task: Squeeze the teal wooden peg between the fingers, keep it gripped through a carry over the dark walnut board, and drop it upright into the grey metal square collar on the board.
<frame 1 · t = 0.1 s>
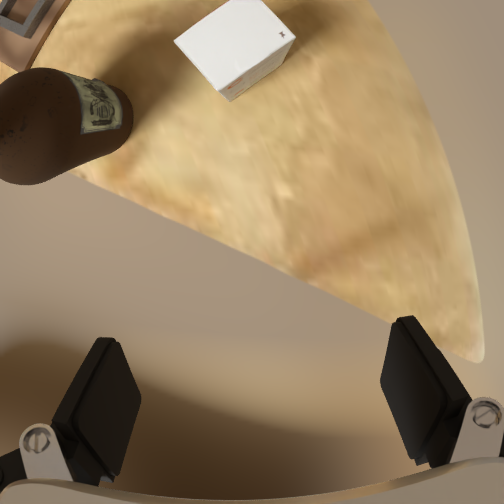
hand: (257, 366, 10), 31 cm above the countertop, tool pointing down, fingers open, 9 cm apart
collar board: (34, 3, 27), on the countertop
small box: (239, 64, 33), on the countertop
olive oil: (102, 120, 35), on the countertop
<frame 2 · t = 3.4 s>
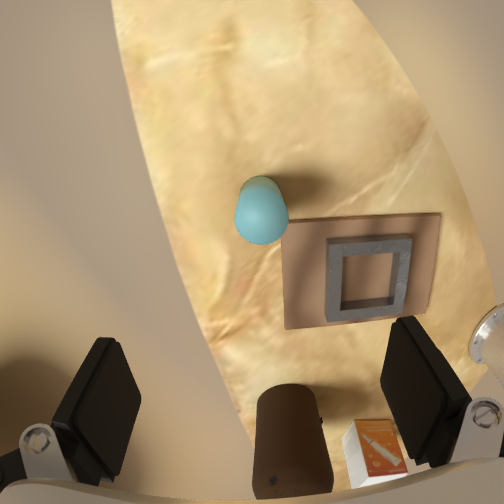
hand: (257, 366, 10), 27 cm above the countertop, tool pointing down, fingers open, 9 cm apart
collar board: (362, 270, 38), on the countertop
small box: (365, 428, 51), on the countertop
olive oil: (286, 402, 48), on the countertop
teal peg: (260, 196, 35), on the countertop
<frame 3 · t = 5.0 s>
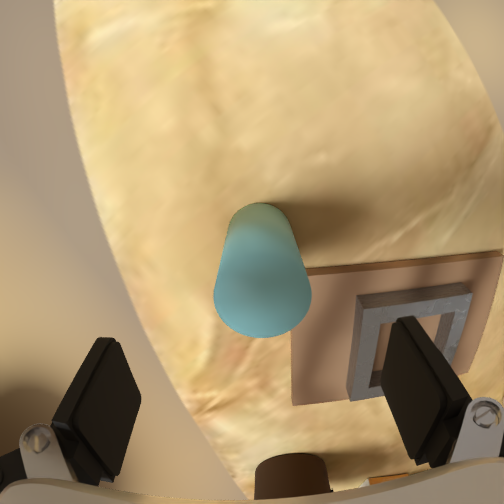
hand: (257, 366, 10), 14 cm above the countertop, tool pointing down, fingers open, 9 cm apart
collar board: (399, 330, 26), on the countertop
small box: (379, 482, 39), on the countertop
olive oil: (290, 468, 36), on the countertop
teal peg: (259, 233, 23), on the countertop
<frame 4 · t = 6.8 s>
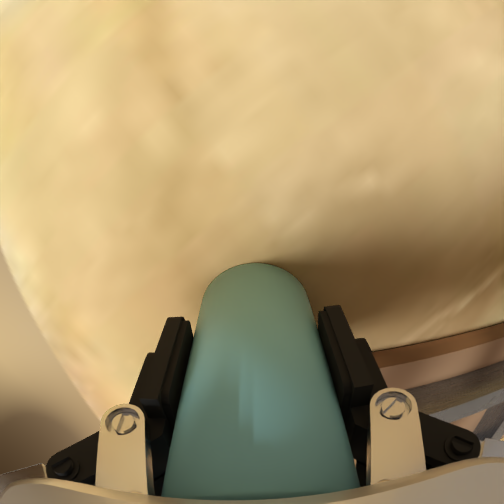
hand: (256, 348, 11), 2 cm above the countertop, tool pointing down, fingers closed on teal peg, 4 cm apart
collar board: (442, 411, 17), on the countertop
teal peg: (255, 312, 13), on the countertop, touching gripper
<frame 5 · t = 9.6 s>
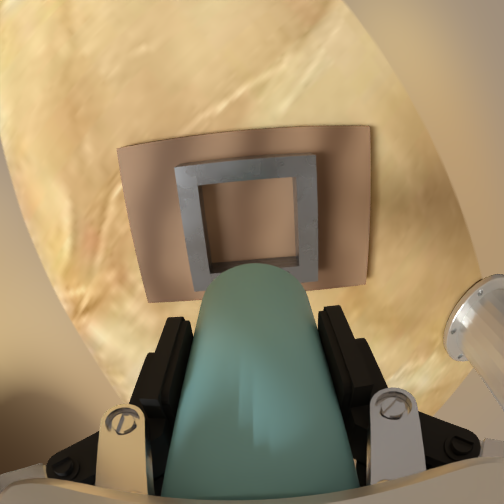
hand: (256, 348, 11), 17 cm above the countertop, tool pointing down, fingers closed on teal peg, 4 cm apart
collar board: (250, 214, 27), on the countertop
teal peg: (255, 312, 13), point 15 cm above the countertop, touching gripper
when the fingers open (7 cm above the countertop, at t = 12.5 s): teal peg drops 3 cm, resting on collar board.
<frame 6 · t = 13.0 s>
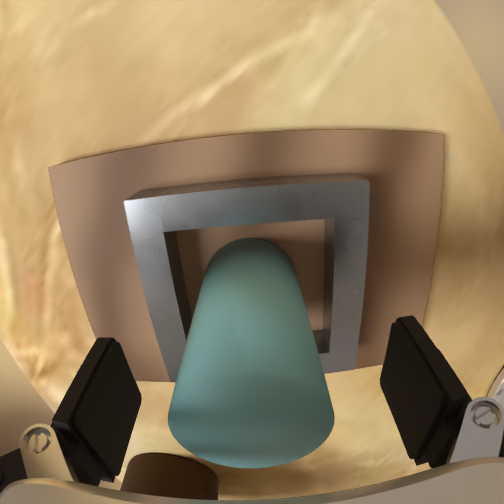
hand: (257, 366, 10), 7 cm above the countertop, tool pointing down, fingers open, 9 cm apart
collar board: (254, 268, 17), on the countertop
olive oil: (173, 473, 26), on the countertop
teal peg: (250, 280, 16), point 1 cm above the countertop, touching collar board
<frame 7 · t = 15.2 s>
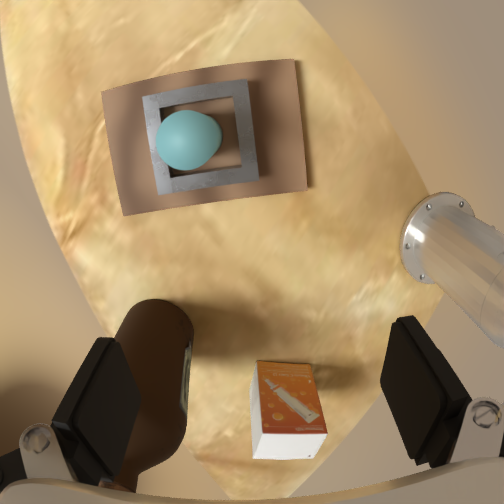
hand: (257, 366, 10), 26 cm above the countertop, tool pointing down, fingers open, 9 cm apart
collar board: (203, 135, 31), on the countertop
small box: (278, 375, 45), on the countertop
olive oil: (159, 328, 41), on the countertop
teal peg: (200, 136, 30), point 1 cm above the countertop, touching collar board
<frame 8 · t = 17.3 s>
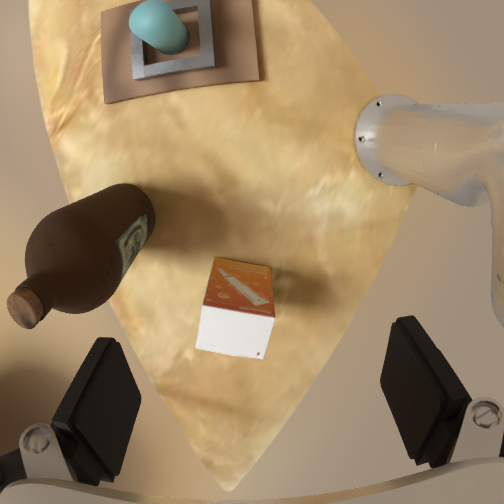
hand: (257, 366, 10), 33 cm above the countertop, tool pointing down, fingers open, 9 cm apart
collar board: (175, 40, 33), on the countertop
small box: (238, 279, 47), on the countertop
olive oil: (125, 216, 43), on the countertop
teal peg: (172, 38, 32), point 1 cm above the countertop, touching collar board
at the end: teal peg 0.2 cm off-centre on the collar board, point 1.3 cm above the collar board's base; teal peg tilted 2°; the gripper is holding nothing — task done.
